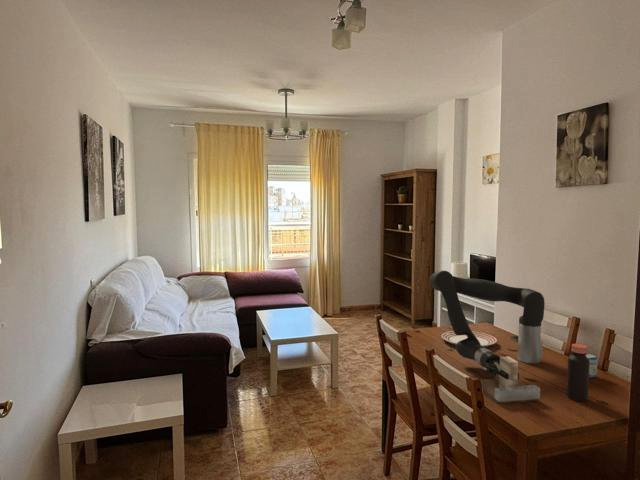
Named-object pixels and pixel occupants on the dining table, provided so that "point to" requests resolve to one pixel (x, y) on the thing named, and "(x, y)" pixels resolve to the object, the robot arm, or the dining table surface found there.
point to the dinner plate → (454, 339)
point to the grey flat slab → (490, 390)
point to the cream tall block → (510, 368)
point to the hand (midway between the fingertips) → (512, 376)
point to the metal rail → (517, 393)
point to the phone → (514, 338)
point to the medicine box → (592, 365)
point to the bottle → (578, 374)
